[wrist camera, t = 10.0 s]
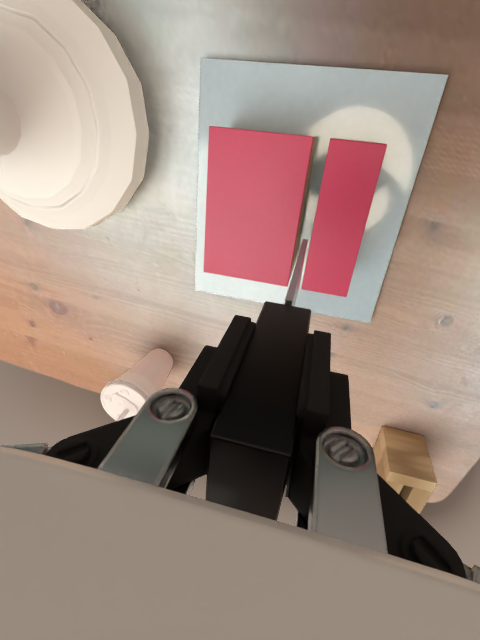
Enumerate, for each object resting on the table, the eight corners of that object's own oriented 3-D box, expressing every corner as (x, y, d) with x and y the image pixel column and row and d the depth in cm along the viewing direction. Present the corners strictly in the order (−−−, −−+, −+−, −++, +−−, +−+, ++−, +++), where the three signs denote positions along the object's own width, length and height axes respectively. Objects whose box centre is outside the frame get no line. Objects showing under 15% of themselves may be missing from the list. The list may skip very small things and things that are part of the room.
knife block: (423, 435, 43) (437, 483, 37) (405, 471, 46) (415, 521, 40) (382, 425, 44) (389, 471, 38) (367, 461, 47) (372, 509, 41)
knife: (320, 241, 21) (294, 450, 7) (311, 286, 22) (273, 534, 8) (290, 236, 21) (208, 428, 7) (283, 281, 22) (204, 513, 9)
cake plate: (445, 76, 27) (448, 74, 26) (369, 319, 38) (369, 323, 37) (204, 59, 30) (200, 57, 29) (197, 287, 41) (194, 290, 40)
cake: (317, 136, 30) (313, 136, 25) (294, 265, 36) (287, 287, 31) (229, 127, 31) (208, 125, 26) (221, 253, 37) (203, 272, 32)
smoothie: (157, 383, 50) (101, 460, 38) (131, 348, 48) (63, 419, 36) (191, 370, 47) (142, 449, 35) (165, 333, 45) (104, 403, 33)
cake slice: (378, 142, 29) (387, 144, 24) (344, 274, 35) (346, 297, 30) (331, 138, 30) (330, 138, 25) (305, 267, 36) (300, 289, 31)
